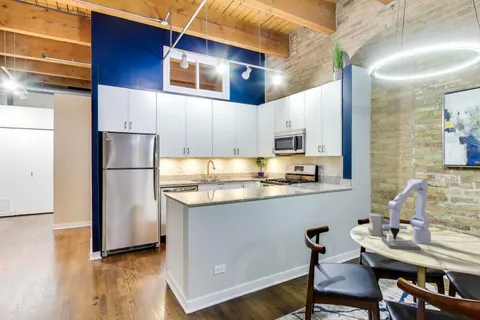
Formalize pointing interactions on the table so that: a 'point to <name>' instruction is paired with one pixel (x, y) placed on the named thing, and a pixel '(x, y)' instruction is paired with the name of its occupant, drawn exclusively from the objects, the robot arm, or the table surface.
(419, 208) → the robot arm
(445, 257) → the table surface
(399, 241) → the panel
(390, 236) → the handle
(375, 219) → the circuit breaker
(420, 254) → the table surface
